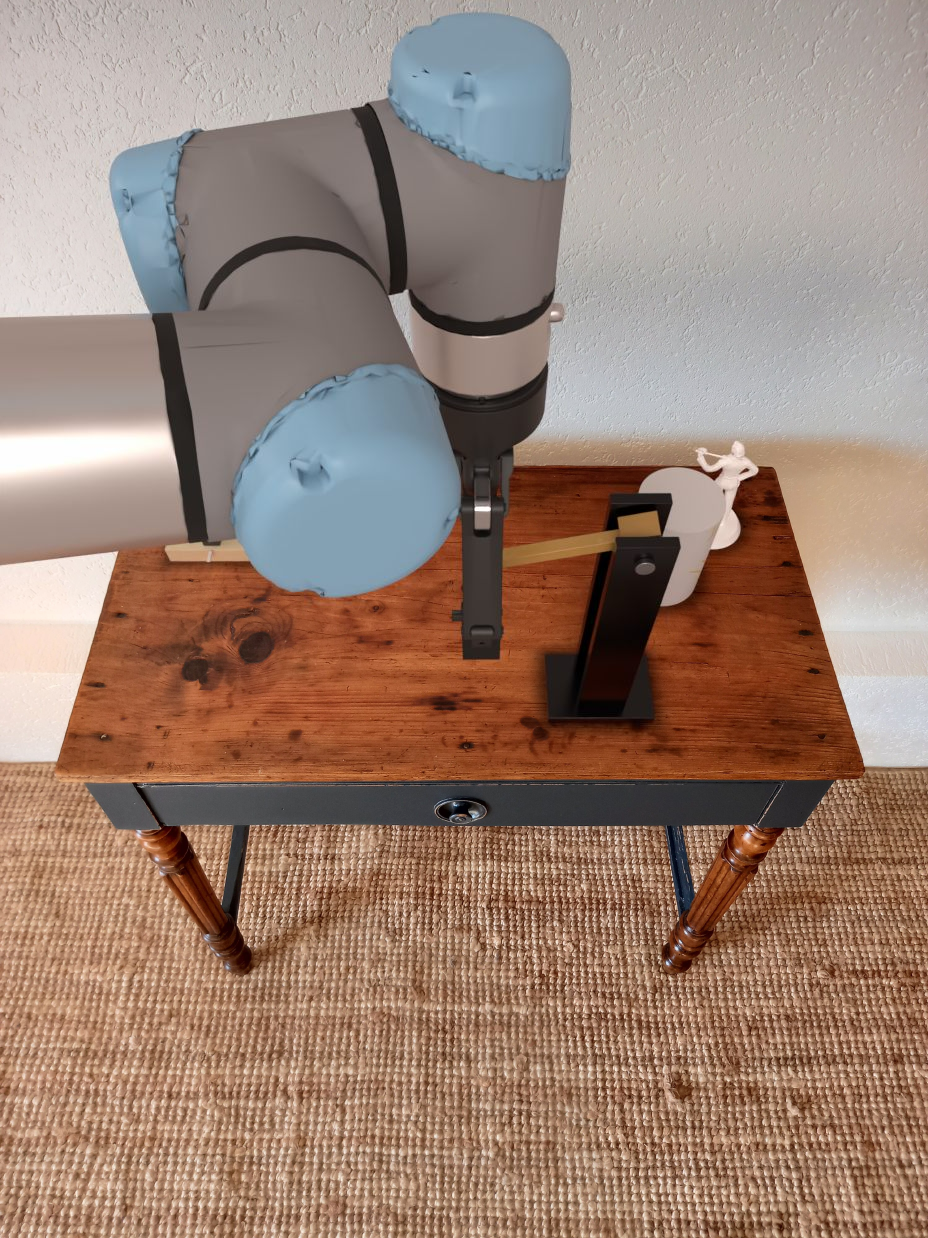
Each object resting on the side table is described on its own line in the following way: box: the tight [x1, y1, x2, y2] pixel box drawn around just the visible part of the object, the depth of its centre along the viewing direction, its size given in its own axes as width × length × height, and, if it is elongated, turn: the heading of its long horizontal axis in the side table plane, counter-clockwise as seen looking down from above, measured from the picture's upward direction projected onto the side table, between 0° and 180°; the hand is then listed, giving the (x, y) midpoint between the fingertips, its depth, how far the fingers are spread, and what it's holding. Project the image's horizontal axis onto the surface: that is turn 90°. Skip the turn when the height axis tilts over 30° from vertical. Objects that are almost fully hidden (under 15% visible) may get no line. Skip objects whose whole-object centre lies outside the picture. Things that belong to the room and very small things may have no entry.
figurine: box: [694, 440, 759, 550], centre depth 84 cm, size 7×7×12 cm
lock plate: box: [164, 539, 250, 563], centre depth 88 cm, size 10×10×2 cm
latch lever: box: [503, 511, 661, 569], centre depth 59 cm, size 14×5×2 cm, turn 90°
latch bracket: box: [543, 492, 681, 724], centre depth 67 cm, size 10×7×26 cm
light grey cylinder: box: [638, 466, 726, 607], centre depth 80 cm, size 8×8×12 cm
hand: (480, 580), depth 62 cm, fingers open, 13 cm apart
